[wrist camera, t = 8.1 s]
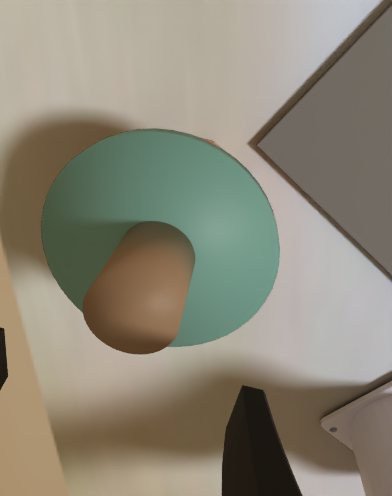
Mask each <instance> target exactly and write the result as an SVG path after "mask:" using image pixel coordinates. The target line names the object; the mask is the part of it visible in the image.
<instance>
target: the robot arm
mask: <svg viewBox="0 0 392 496" xmlns="http://www.w3.org/2000/svg"><path fill="white" fill-rule="evenodd" d="M7 377H8V370H7V358H6V347H5V334H4V328H0V390H1V388H2V386H3V384H4V382H5V381H6V379H7ZM320 423H321V427H322V428H323V429H324V430H325V431H327V432H328V433H329V434H331V435H332V436H333V437H335V438H336V439H337V440H339V441H340V442H341V443H343V444H344V445H345V446H347V447H348V448H349V449H350V450H352V451H353V452H354V454H355V458H356V461H357V465H358V469H359V472H360V476H361V480H362V483H363V487H364V491H365V495H366V496H392V381H390V382H388V383H386V384H385V385H383V386H381V387H379V388H377V389H375V390H373V391H372V392H370V393H368V394H366V395H364V396H362V397H360V398H359V399H357V400H355V401H353V402H351V403H349V404H347V405H346V406H344V407H342V408H340V409H338V410H336V411H334V412H333V413H331V414H329V415H327V416H325V417H323V418H322V419H321V420H320ZM222 496H302V493H301V491H300V489H299V487H298V484H297V482H296V479H295V477H294V475H293V472H292V470H291V467H290V465H289V462H288V459H287V457H286V454H285V452H284V449H283V447H282V444H281V441H280V438H279V435H278V433H277V430H276V427H275V424H274V421H273V418H272V415H271V412H270V408H269V405H268V402H267V398H266V395H265V393H264V391H263V390H260V389H256V388H252V387H248V386H243V385H242V388H241V390H240V393H239V396H238V398H237V401H236V403H235V406H234V409H233V411H232V414H231V417H230V419H229V422H228V425H227V427H226V433H225V442H224V452H223V462H222Z"/></svg>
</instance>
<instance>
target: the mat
mask: <svg viewBox="0 0 392 496" xmlns="http://www.w3.org/2000/svg"><path fill="white" fill-rule="evenodd" d="M257 146H258V147H259V148H260V149H261V150H262V151H263V152H264V153H265V154H266V155H267V156H268V157H269V158H270V159H271V160H273V161H274V162H275V163H276V164H277V165H278V166H279V167H280V168H281V169H282V170H283V171H284V172H285V173H286V174H287V175H288V176H289V177H290V178H291V179H292V180H293V181H294V182H295V183H296V184H297V185H299V186H300V187H301V188H302V189H303V190H304V191H305V192H306V193H307V194H308V195H309V196H310V197H311V198H312V199H313V200H314V201H315V202H316V203H317V204H318V205H319V206H320V207H321V208H322V209H323V210H325V211H326V212H327V213H328V214H329V215H330V216H331V217H332V218H333V219H334V220H335V221H336V222H337V223H338V224H339V225H340V226H341V227H342V228H343V229H344V230H345V231H346V232H347V233H348V234H350V235H351V236H352V237H353V238H354V239H355V240H356V241H357V242H358V243H359V244H360V245H361V246H362V247H363V248H364V249H365V250H366V251H367V252H368V253H369V254H370V255H371V256H372V257H373V258H374V259H376V260H377V261H378V262H379V263H380V264H381V265H382V266H383V267H384V268H385V269H386V270H387V271H388V272H389V273H390V274H391V275H392V3H391V5H390V6H389V7H388V8H387V9H386V10H385V11H384V12H383V13H382V14H381V15H380V16H379V17H378V18H377V19H376V20H375V21H374V22H373V23H372V24H371V25H370V26H369V27H368V28H367V30H366V31H365V32H364V33H363V34H362V35H361V36H360V37H359V38H358V39H357V40H356V41H355V42H354V43H353V44H352V45H351V46H350V47H349V48H348V49H347V50H346V51H345V52H344V53H343V54H342V56H341V57H340V58H339V59H338V60H337V61H336V62H335V63H334V64H333V65H332V66H331V67H330V68H329V69H328V70H327V71H326V72H325V73H324V74H323V75H322V76H321V77H320V78H319V79H318V80H317V82H316V83H315V84H314V85H313V86H312V87H311V88H310V89H309V90H308V91H307V92H306V93H305V94H304V95H303V96H302V97H301V98H300V99H299V100H298V101H297V102H296V103H295V104H294V105H293V106H292V108H291V109H290V110H289V111H288V112H287V113H286V114H285V115H284V116H283V117H282V118H281V119H280V120H279V121H278V122H277V123H276V124H275V125H274V126H273V127H272V128H271V129H270V130H269V131H268V133H267V134H266V135H265V136H264V137H263V138H262V139H261V140H260V141H259V142H258V143H257Z"/></svg>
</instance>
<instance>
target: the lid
mask: <svg viewBox="0 0 392 496" xmlns="http://www.w3.org/2000/svg"><path fill="white" fill-rule="evenodd" d="M41 236H42V242H43V249H44V253H45V256H46V259H47V263H48V265H49V267H50V269H51V272H52V274H53V276H54V278H55V279H56V281H57V283H58V284H59V286H60V288H61V289H62V290H63V292H64V293H65V294H66V296H67V297H68V298H69V299H70V300H71V301H72V303H73V304H74V305H75V306H76V307H77V308H78V309H79V310H81V311H82V312H83V315H84V319H85V321H86V323H87V325H88V327H89V329H90V330H91V331H92V333H93V334H94V335H95V336H96V337H97V338H98V339H100V340H101V341H102V342H103V343H105V344H106V345H108V346H110V347H112V348H114V349H116V350H119V351H122V352H126V353H130V354H149V353H154V352H157V351H160V350H162V349H164V348H165V347H182V346H192V345H198V344H203V343H206V342H210V341H213V340H216V339H219V338H221V337H223V336H226V335H228V334H229V333H231V332H233V331H235V330H236V329H238V328H239V327H241V326H242V325H243V324H245V323H246V322H247V321H249V320H250V319H251V318H252V317H253V316H254V315H255V314H256V313H257V312H258V310H259V309H260V308H261V306H262V305H263V304H264V302H265V301H266V299H267V297H268V296H269V294H270V292H271V290H272V288H273V285H274V282H275V279H276V277H277V272H278V267H279V256H280V246H279V237H278V230H277V225H276V221H275V217H274V213H273V210H272V208H271V205H270V203H269V201H268V198H267V196H266V195H265V193H264V191H263V190H262V188H261V186H260V185H259V183H258V182H257V181H256V179H255V178H254V177H253V176H252V174H251V173H250V172H249V171H248V170H247V169H246V168H245V167H244V166H243V165H242V164H241V163H240V162H239V161H238V160H237V159H236V158H234V157H233V156H231V155H230V154H229V153H227V152H226V151H224V150H223V149H222V148H220V147H218V146H216V145H214V144H212V143H210V142H208V141H207V140H204V139H202V138H199V137H196V136H193V135H191V134H187V133H183V132H178V131H174V130H166V129H155V128H154V129H137V130H132V131H127V132H122V133H119V134H116V135H113V136H110V137H107V138H105V139H103V140H101V141H99V142H97V143H96V144H94V145H92V146H90V147H89V148H87V149H85V150H84V151H82V152H81V153H80V154H78V155H77V156H76V157H75V158H73V159H72V160H71V161H70V162H69V163H68V164H67V165H66V166H65V167H64V168H63V169H62V170H61V172H60V173H59V175H58V176H57V177H56V179H55V180H54V182H53V184H52V186H51V188H50V190H49V192H48V194H47V197H46V200H45V204H44V207H43V213H42V221H41Z"/></svg>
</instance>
